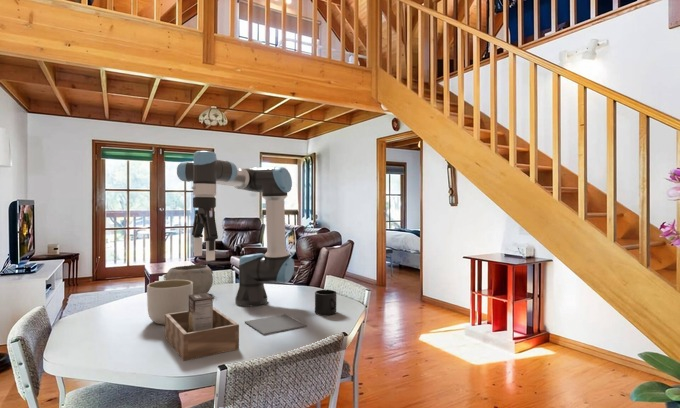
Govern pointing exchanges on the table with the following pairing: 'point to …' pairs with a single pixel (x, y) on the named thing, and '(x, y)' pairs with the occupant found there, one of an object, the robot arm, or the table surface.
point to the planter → (168, 298)
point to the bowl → (193, 276)
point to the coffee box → (200, 312)
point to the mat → (274, 324)
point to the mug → (325, 302)
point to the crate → (201, 335)
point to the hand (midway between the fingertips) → (204, 258)
